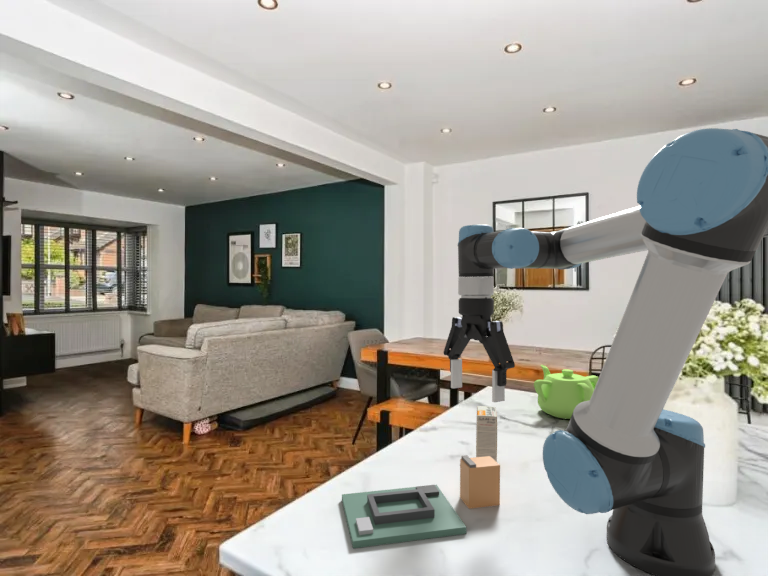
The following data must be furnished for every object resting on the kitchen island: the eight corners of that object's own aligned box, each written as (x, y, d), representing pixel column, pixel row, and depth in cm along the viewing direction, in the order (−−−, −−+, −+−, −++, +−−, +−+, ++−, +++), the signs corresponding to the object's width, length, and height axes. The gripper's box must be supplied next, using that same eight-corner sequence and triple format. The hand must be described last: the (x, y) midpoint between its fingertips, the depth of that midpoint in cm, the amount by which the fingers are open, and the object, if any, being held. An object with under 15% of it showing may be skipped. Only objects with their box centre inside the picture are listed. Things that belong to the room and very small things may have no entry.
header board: (466, 533, 78) (466, 518, 77) (353, 548, 73) (353, 532, 73) (436, 490, 93) (436, 477, 93) (341, 500, 89) (341, 487, 89)
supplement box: (497, 473, 101) (498, 416, 101) (476, 471, 102) (476, 415, 102) (495, 458, 109) (496, 406, 109) (475, 457, 110) (476, 405, 110)
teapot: (594, 427, 132) (594, 379, 132) (526, 415, 143) (526, 371, 143) (602, 410, 148) (602, 368, 148) (540, 401, 159) (540, 361, 158)
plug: (499, 505, 87) (500, 462, 87) (468, 508, 86) (469, 465, 86) (489, 494, 92) (489, 453, 91) (460, 497, 90) (460, 455, 90)
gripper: (533, 298, 87) (533, 405, 88) (453, 295, 109) (454, 380, 109) (504, 299, 84) (505, 410, 84) (428, 295, 105) (429, 384, 106)
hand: (476, 394), depth 97 cm, fingers open, 13 cm apart
